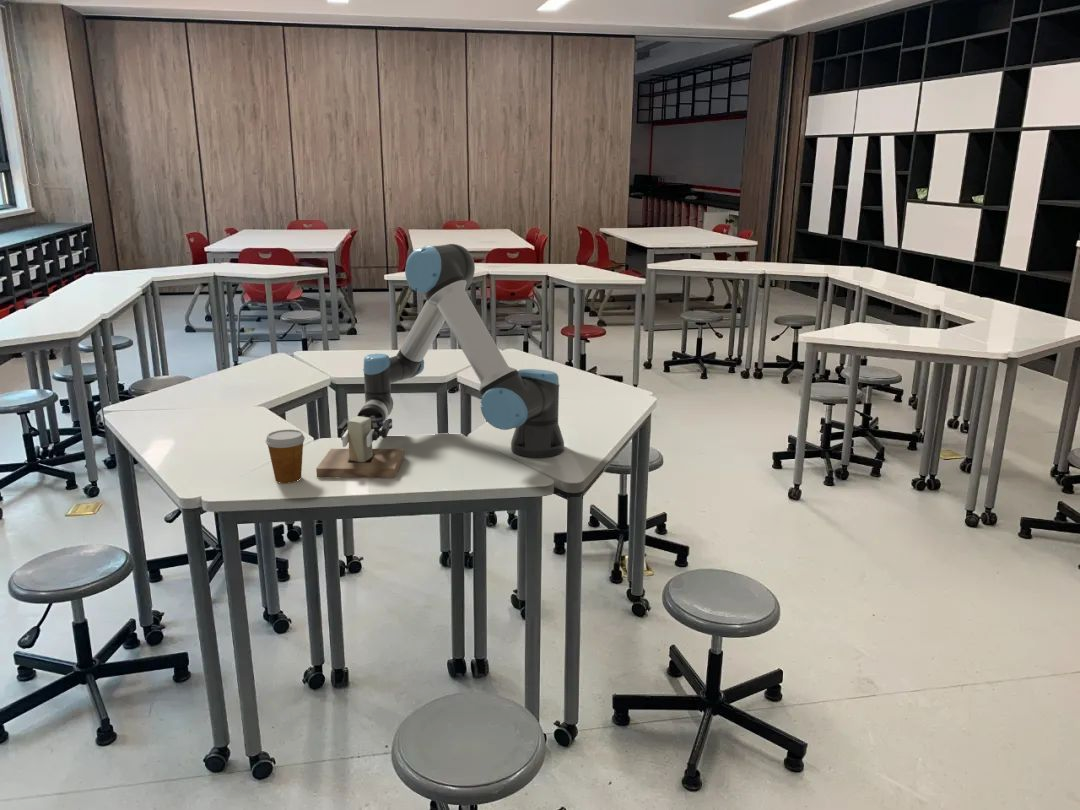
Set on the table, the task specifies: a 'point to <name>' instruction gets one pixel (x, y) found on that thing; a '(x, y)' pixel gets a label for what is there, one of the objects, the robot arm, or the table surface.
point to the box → (359, 439)
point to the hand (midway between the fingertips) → (356, 441)
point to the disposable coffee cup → (286, 454)
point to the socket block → (361, 464)
